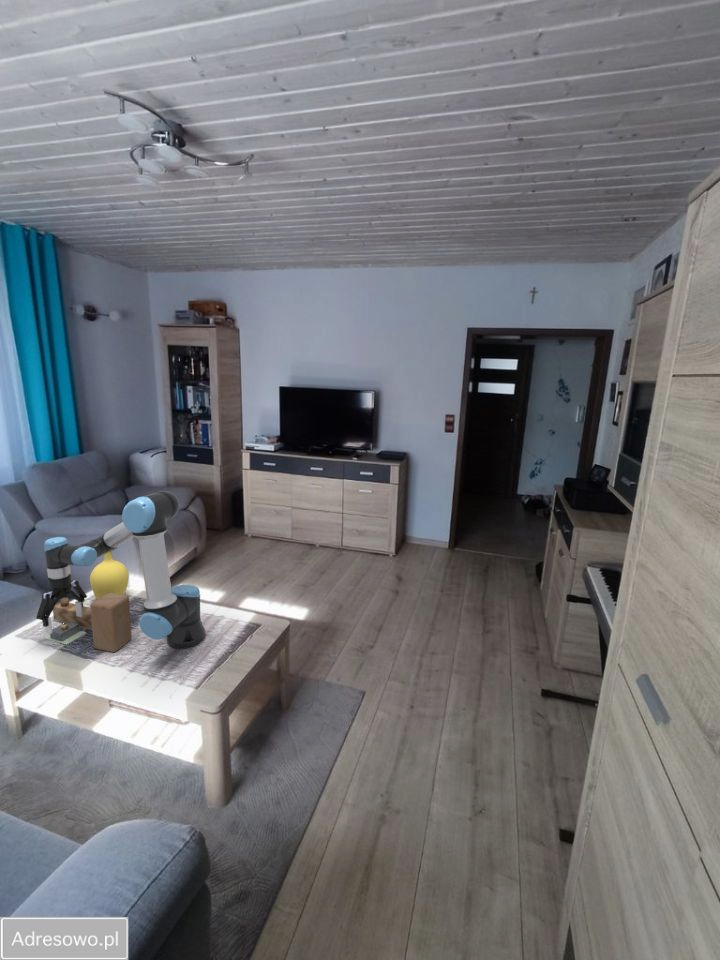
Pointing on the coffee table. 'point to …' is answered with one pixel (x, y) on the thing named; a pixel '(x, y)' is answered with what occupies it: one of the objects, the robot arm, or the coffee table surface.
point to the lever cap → (65, 631)
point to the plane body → (72, 614)
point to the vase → (109, 577)
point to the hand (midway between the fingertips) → (64, 624)
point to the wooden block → (111, 622)
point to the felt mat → (68, 638)
